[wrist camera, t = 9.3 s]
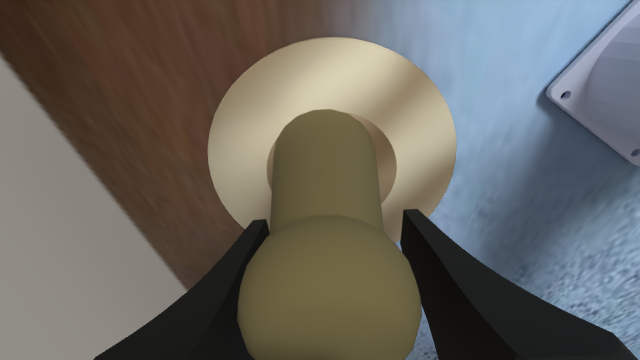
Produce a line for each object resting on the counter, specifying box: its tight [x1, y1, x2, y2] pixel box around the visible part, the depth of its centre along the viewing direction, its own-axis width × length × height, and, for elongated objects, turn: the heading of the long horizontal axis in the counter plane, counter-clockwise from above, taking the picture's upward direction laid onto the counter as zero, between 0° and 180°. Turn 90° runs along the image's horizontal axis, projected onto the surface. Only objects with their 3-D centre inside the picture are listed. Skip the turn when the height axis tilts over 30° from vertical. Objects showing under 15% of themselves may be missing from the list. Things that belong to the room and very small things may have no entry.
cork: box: [237, 109, 422, 360], centre depth 11 cm, size 6×6×11 cm
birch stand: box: [208, 36, 457, 243], centre depth 17 cm, size 15×15×2 cm
